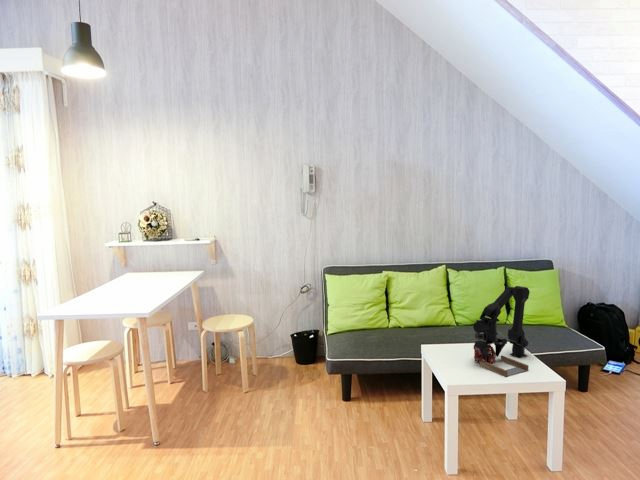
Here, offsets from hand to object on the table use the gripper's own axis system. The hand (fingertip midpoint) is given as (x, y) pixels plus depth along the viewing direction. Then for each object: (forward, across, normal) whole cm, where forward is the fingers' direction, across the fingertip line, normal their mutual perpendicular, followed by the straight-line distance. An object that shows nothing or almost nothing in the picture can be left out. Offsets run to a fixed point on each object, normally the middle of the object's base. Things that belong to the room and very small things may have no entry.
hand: (490, 357), depth 245 cm
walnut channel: (+3, 0, +9) cm, 9 cm away
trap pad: (+3, 0, +14) cm, 15 cm away
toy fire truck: (+3, +1, -3) cm, 5 cm away
